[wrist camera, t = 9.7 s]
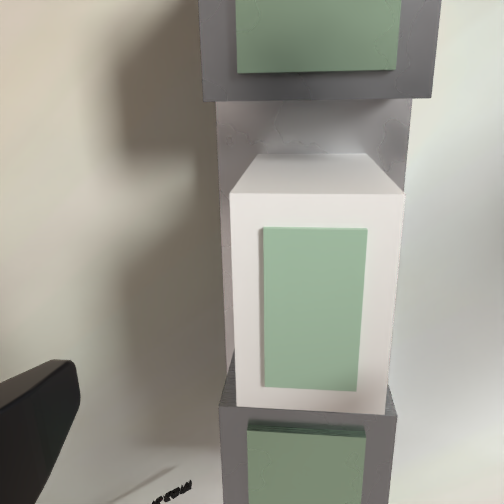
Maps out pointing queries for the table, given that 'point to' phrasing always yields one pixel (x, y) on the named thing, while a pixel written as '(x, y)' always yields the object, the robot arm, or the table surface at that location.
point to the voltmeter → (174, 493)
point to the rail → (309, 142)
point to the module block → (314, 281)
